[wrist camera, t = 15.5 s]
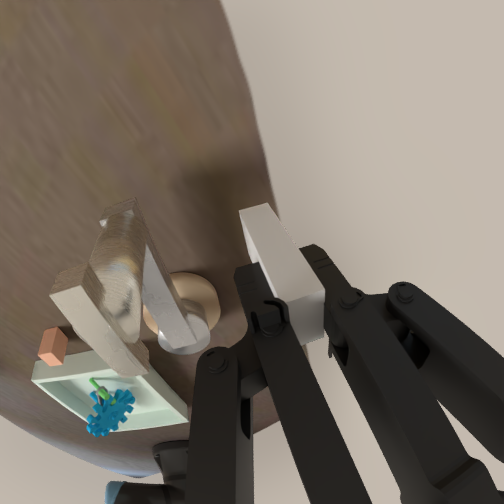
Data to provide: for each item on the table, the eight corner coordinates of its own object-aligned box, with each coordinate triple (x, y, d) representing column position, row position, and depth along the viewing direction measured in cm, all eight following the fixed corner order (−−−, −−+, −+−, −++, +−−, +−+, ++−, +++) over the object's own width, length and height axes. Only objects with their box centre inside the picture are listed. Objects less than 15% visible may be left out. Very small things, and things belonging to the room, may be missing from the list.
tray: (186, 404, 43) (189, 421, 40) (103, 416, 41) (103, 432, 39) (131, 341, 31) (130, 364, 28) (35, 361, 30) (31, 380, 27)
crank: (212, 325, 29) (236, 434, 20) (168, 336, 29) (180, 445, 19) (148, 163, 19) (120, 272, 9) (88, 186, 18) (21, 304, 8)
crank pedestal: (225, 315, 32) (228, 328, 31) (161, 333, 32) (161, 346, 30) (205, 262, 27) (208, 275, 26) (131, 284, 27) (129, 298, 25)
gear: (138, 417, 39) (97, 448, 30) (115, 396, 41) (74, 423, 32) (137, 379, 35) (85, 414, 26) (111, 355, 37) (60, 384, 28)
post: (68, 338, 29) (63, 364, 26) (55, 341, 28) (49, 366, 25) (57, 326, 27) (51, 352, 24) (44, 329, 27) (37, 355, 24)
